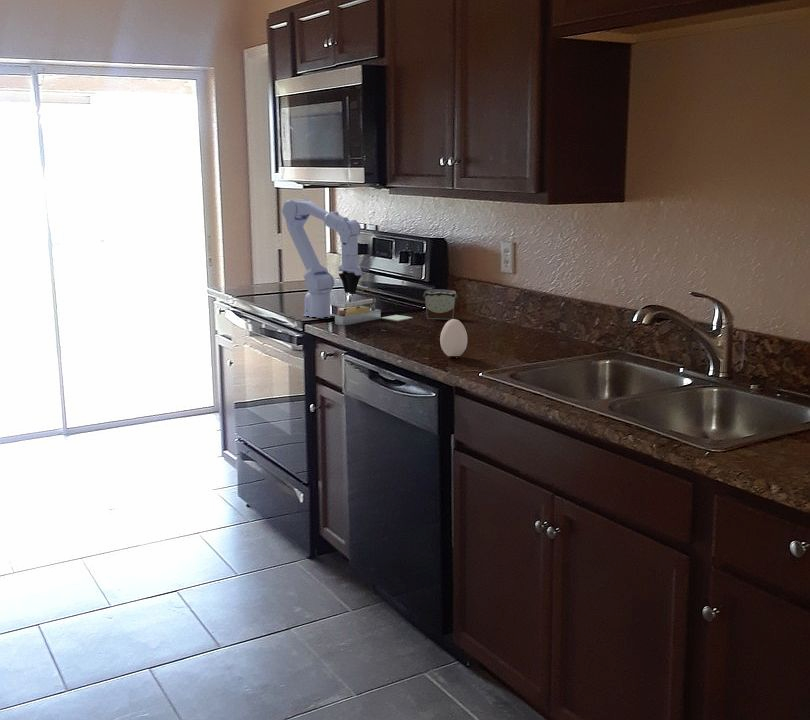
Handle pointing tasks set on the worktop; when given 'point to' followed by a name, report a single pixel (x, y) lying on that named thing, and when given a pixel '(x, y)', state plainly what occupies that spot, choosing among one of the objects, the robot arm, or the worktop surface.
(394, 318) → the mat
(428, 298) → the food container
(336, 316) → the plane body
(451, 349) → the egg
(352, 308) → the cap
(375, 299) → the lever
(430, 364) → the worktop surface
